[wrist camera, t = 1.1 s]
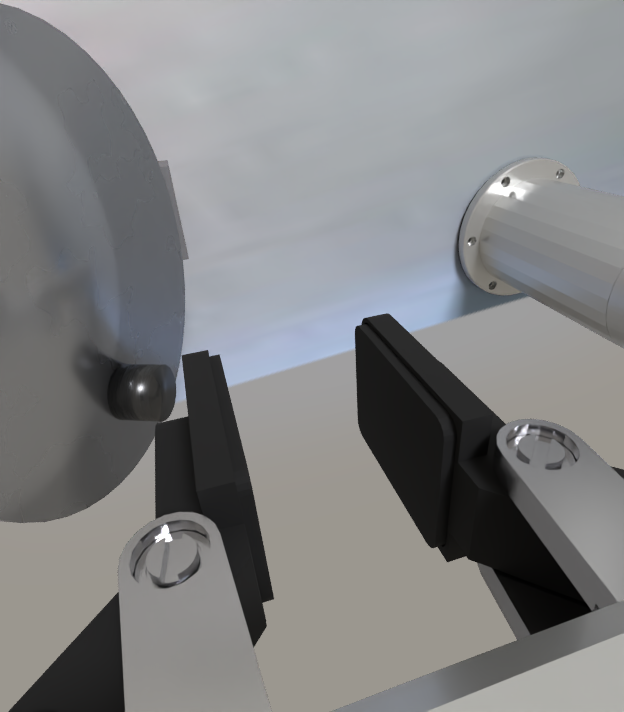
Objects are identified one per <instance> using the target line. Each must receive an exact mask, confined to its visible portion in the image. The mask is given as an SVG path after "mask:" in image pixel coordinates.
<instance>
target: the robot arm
mask: <svg viewBox="0 0 624 712" xmlns="http://www.w3.org/2000/svg"><path fill="white" fill-rule="evenodd" d="M459 257H460V261H461V265H462V267H463V269H464V271H465V273H466V275H467V277H468V278H469V279H470V280H471V281H472V283H474V284H475V285H477V286H478V287H479V288H481V289H483V290H484V291H486V292H488V293H491V294H495V295H514V294H518V293H522V292H523V293H524V294H526V295H528V296H530V297H532V298H534V299H535V300H537V301H539V302H541V303H542V304H544V305H546V306H548V307H550V308H551V309H553V310H555V311H557V312H559V313H560V314H562V315H564V316H566V317H568V318H569V319H571V320H573V321H575V322H577V323H579V324H580V325H582V326H584V327H585V328H587V329H589V330H591V331H593V332H594V333H596V334H598V335H600V336H602V337H603V338H605V339H607V340H609V341H611V342H613V343H615V344H617V345H618V346H620V347H622V348H624V197H623V196H619V195H615V194H610V193H606V192H602V191H597V190H593V189H589V188H585V187H580V184H579V182H578V180H577V178H576V176H575V174H574V173H573V172H572V171H571V170H570V169H569V168H568V167H567V166H565V165H564V164H562V163H560V162H558V161H555V160H550V159H546V158H537V157H534V158H527V159H522V160H519V161H517V162H514V163H511V164H509V165H508V166H506V167H504V168H503V169H501V170H499V171H498V172H497V173H496V174H495V175H493V176H492V177H491V178H490V179H489V180H488V181H487V182H486V183H485V184H484V185H483V186H482V188H481V189H480V190H479V191H478V192H477V194H476V196H475V197H474V199H473V200H472V202H471V203H470V205H469V207H468V210H467V212H466V214H465V216H464V219H463V223H462V226H461V229H460V236H459ZM355 348H356V378H357V407H358V424H359V428H360V431H361V434H362V436H363V438H364V439H365V441H366V443H367V444H368V446H369V448H370V449H371V451H372V453H373V454H374V456H375V458H376V459H377V461H378V463H379V464H380V466H381V468H382V469H383V471H384V473H385V474H386V476H387V478H388V479H389V481H390V483H391V484H392V486H393V488H394V489H395V491H396V493H397V494H398V496H399V498H400V499H401V501H402V502H403V504H404V506H405V508H406V509H407V511H408V513H409V514H410V516H411V517H412V519H413V521H414V523H415V524H416V526H417V527H418V529H419V531H420V533H421V534H422V536H423V538H424V539H425V541H426V542H427V544H428V545H429V546H430V547H431V548H435V547H438V548H439V550H440V551H441V553H442V555H443V556H444V558H445V559H446V561H447V562H450V561H453V560H455V559H458V558H462V557H465V556H467V558H468V559H469V560H472V561H475V562H477V563H478V567H479V570H480V572H481V575H482V577H483V578H484V580H485V582H486V584H487V586H488V588H489V589H490V591H491V593H492V595H493V597H494V598H495V600H496V602H497V604H498V606H499V608H500V609H501V611H502V613H503V614H504V617H505V618H506V620H507V622H508V624H509V626H510V628H511V629H512V631H513V633H514V635H515V637H516V639H517V641H514V642H512V643H509V644H506V645H504V646H501V647H498V648H496V649H493V650H491V651H488V652H485V653H482V654H480V655H477V656H475V657H472V658H469V659H467V660H464V661H461V662H459V663H456V664H454V665H451V666H448V667H446V668H443V669H441V670H438V671H435V672H432V673H430V674H427V675H425V676H422V677H419V678H417V679H414V680H411V681H409V682H406V683H404V684H401V685H398V686H396V687H393V688H391V689H388V690H385V691H383V692H380V693H378V694H375V695H372V696H370V697H367V698H365V699H362V700H360V701H357V702H354V703H352V704H349V705H346V706H344V707H342V708H339V709H336V710H334V711H331V712H624V470H623V469H619V468H615V467H611V466H609V465H608V464H607V463H606V462H605V461H604V460H603V459H602V458H601V457H600V456H599V455H598V454H597V453H596V452H595V451H594V450H593V449H592V448H590V446H589V445H587V444H586V443H585V442H584V441H583V440H582V439H581V438H580V437H579V436H577V435H576V434H575V433H573V432H572V431H570V430H569V429H567V428H565V427H563V426H561V425H558V424H555V423H552V422H548V421H544V420H536V419H522V420H516V421H513V422H510V423H508V424H505V423H504V422H503V421H502V420H501V419H500V418H499V417H498V416H496V414H495V413H494V412H493V411H491V410H490V409H489V408H488V407H487V406H486V405H485V404H484V403H483V402H482V401H481V400H480V399H479V398H478V397H477V396H476V395H475V394H474V393H473V392H472V391H471V390H469V389H468V388H467V387H466V386H465V385H464V384H463V383H462V382H461V381H460V380H459V379H458V378H457V377H456V376H455V375H454V374H453V373H452V372H451V371H450V370H449V369H448V368H446V367H445V366H444V365H443V364H442V363H441V362H439V361H438V360H437V359H436V358H435V357H433V356H432V355H431V354H430V353H429V352H428V351H427V350H426V349H425V348H424V347H423V346H422V345H421V344H420V343H419V342H418V341H417V340H416V339H415V338H414V337H413V336H412V335H411V334H410V333H409V332H408V331H407V330H406V329H404V328H403V327H402V326H401V325H400V324H399V323H398V322H397V321H396V320H395V319H394V318H393V317H392V316H391V315H390V314H382V315H377V316H372V317H368V318H364V319H363V320H362V325H360V326H356V329H355ZM182 361H183V371H184V380H185V389H186V399H187V408H188V417H184V418H180V419H176V420H171V421H166V422H163V423H158V424H156V425H155V484H156V485H155V491H156V492H155V495H156V496H155V500H156V501H155V502H156V519H155V520H153V521H151V522H149V523H148V524H147V525H145V526H144V527H143V528H141V529H140V530H139V531H137V532H136V533H135V534H134V536H133V537H132V538H131V539H130V540H129V541H128V543H127V544H126V546H125V548H124V550H123V552H122V554H121V556H120V559H119V566H118V584H119V592H118V593H117V594H116V595H115V596H114V597H113V599H112V600H111V601H110V602H109V603H108V604H107V605H106V606H105V607H104V608H103V610H102V611H100V613H99V614H98V615H97V616H96V617H95V618H94V619H93V620H92V621H91V623H90V624H89V625H88V626H87V627H86V628H85V629H84V630H83V631H82V632H81V634H79V636H78V637H77V638H76V639H75V640H74V641H73V642H72V643H71V644H70V645H69V646H68V647H67V648H66V650H65V651H64V652H63V653H62V654H61V655H60V656H59V657H58V658H57V659H56V661H55V662H54V663H53V664H52V665H51V666H50V667H49V668H48V669H47V670H46V671H45V673H43V675H42V676H41V677H40V678H39V679H38V680H37V681H36V682H35V683H34V684H33V685H32V687H31V688H30V689H29V690H28V691H27V692H26V693H25V694H24V695H23V696H22V697H21V699H20V700H19V701H18V702H17V703H16V704H15V705H14V706H13V707H12V708H11V709H10V711H9V712H272V710H271V707H270V703H269V700H268V696H267V693H266V689H265V686H264V683H263V679H262V676H261V673H260V669H259V665H258V662H257V658H256V655H255V652H254V646H255V644H256V643H257V641H258V639H259V638H260V636H261V635H262V633H263V631H264V630H265V628H266V626H267V625H266V619H265V614H264V609H263V604H262V603H263V602H266V601H269V600H272V599H274V597H273V592H272V586H271V582H270V577H269V571H268V566H267V561H266V556H265V551H264V546H263V541H262V536H261V531H260V526H259V521H258V516H257V511H256V506H255V500H254V495H253V490H252V486H251V482H250V476H249V472H248V468H247V464H246V459H245V456H244V452H243V448H242V443H241V439H240V436H239V431H238V427H237V423H236V419H235V415H234V411H233V407H232V403H231V399H230V395H229V391H228V387H227V383H226V379H225V375H224V371H223V367H222V363H221V359H220V355H215V356H210V357H209V353H208V350H206V351H201V352H196V353H191V354H186V355H182Z"/></svg>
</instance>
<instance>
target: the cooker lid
mask: <svg viewBox="0 0 624 712" xmlns="http://www.w3.org/2000/svg"><path fill="white" fill-rule="evenodd" d="M184 319H185V283H184V270H183V259H182V252H181V245H180V239H179V233H178V228H177V223H176V218H175V214H174V210H173V207H172V203H171V199H170V195H169V192H168V189H167V186H166V183H165V180H164V177H163V174H162V171H161V169H160V166H159V164H158V161H157V158H156V156H155V154H154V151H153V149H152V147H151V145H150V143H149V141H148V138H147V136H146V134H145V132H144V130H143V129H142V127H141V125H140V123H139V121H138V119H137V118H136V116H135V114H134V112H133V111H132V109H131V108H130V106H129V104H128V103H127V101H126V100H125V98H124V97H123V95H122V94H121V92H120V91H119V89H118V88H117V87H116V86H115V84H114V83H113V82H112V80H111V79H110V78H109V77H108V75H107V74H106V73H105V71H104V70H103V69H102V68H101V67H100V66H99V65H98V64H97V63H96V62H95V61H94V60H93V59H92V58H91V57H90V55H89V54H88V53H87V52H86V51H84V50H83V49H82V48H81V47H80V46H79V45H77V44H76V43H75V42H74V41H73V40H72V39H70V38H69V37H68V36H67V35H66V34H64V33H63V32H61V31H60V30H58V29H56V28H55V27H53V26H52V25H50V24H49V23H47V22H46V21H44V20H43V19H40V18H38V17H36V16H34V15H32V14H30V13H27V12H25V11H23V10H21V9H19V8H15V7H12V6H8V5H4V4H0V521H4V522H17V523H27V522H46V521H51V520H55V519H59V518H63V517H67V516H69V515H72V514H75V513H77V512H79V511H81V510H84V509H86V508H88V507H90V506H91V505H93V504H94V503H96V502H98V501H99V500H101V499H102V498H104V497H105V496H106V495H108V494H109V493H110V492H111V491H112V490H114V488H116V487H117V486H118V485H119V484H120V483H121V482H122V481H123V480H124V479H125V478H126V477H127V476H128V475H129V474H130V472H131V471H132V470H133V469H134V468H135V466H136V465H137V464H138V462H139V461H140V459H141V458H142V457H143V455H144V454H145V452H146V450H147V449H148V447H149V446H150V444H151V442H152V440H153V439H154V437H155V425H156V424H158V423H161V422H162V421H164V420H166V419H167V418H168V417H169V416H170V414H171V412H172V410H173V407H174V404H175V398H176V382H175V381H176V377H177V372H178V368H179V363H180V357H181V350H182V344H183V333H184Z"/></svg>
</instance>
